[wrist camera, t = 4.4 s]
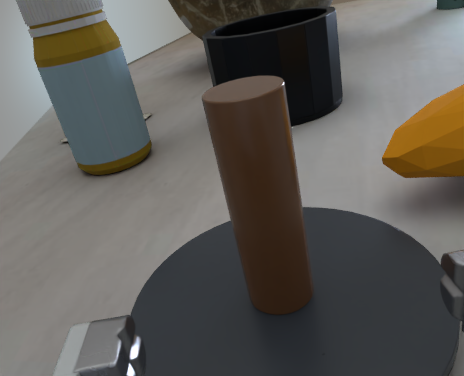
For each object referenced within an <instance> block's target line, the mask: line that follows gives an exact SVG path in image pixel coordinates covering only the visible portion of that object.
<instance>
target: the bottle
mask: <svg viewBox="0 0 464 376" xmlns="http://www.w3.org/2000/svg"><path fill="white" fill-rule="evenodd" d="M16 2H17V4H18V6H19V9H20V12H21V14H22V16H23V19H24V21H25V24H27V26H29V27H30V29H29V30H28V31H29V33H30V35H31V37H33V45H34V59H35V62H36V64H37V67H38V70H39V72H40V75H41V77H42V80H43V82H44V85H45V87H46V89H47V92H48V94H49V97H50V99H51V101H52V104H53V106H54V109H55V111H56V114H57V116H58V119H59V121H60V123H61V126H62V128H63V131H64V133H65V136H66V138H67V140H68V143H69V145H70V148H71V150H72V153H73V155H74V158H75V160H76V162H77V164H78V166H79V168H80V169H81V170H83V171H85V172H87V173H90V174H92V175H103V174H111V173H114V172H119V171H122V170H124V169H127V168H130V167H132V166H134V165H136V164H138V163H139V162H141V161H142V160H143V159H145V158H146V156H147V155H148V153H149V151H150V148H151V140H150V136H149V133H148V130H147V126H146V123H145V120H144V117H143V114H142V110H141V107H140V104H139V101H138V98H137V94H136V91H135V88H134V85H133V82H132V78H131V75H130V72H129V69H128V66H127V63H126V59H125V56H124V53H123V50H122V46H121V44H120V41H119V38H118V36H117V35H116V34H115V32H114V31H113V29H112V28H111V26H110V25H109V23H108V22H107V21H106V19H107V18H106V14H105V12H104V11H103V12H102V9H103V4H102V0H16Z"/></svg>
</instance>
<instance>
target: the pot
mask: <svg viewBox="0 0 464 376" xmlns="http://www.w3.org/2000/svg"><path fill="white" fill-rule="evenodd" d="M202 38H203V43H204V47H205V52H206V56H207V61H208V65H209V70H210V74H211V79H212V83H213V87H215V86H217V85H220V84H222V83H225V82H229V81H232V80H236V79H241V78H246V77H252V76H277V77H280V78H282V79H283V80H284V82H285V89H286V96H287V103H288V110H289V117H290V124H291V126H293V125H297V124H301V123H305V122H308V121H311V120H314V119H317V118H319V117H322V116H324V115H326V114H328V113H330V112H331V111H333V110H334V109H336V108H337V107H338V106H339V105H340V104H341V102H342V96H343V95H342V82H341V70H340V57H339V44H338V32H337V19H336V10H335V8H334V7H327V6H318V7H305V8H298V9H291V10H284V11H279V12H274V13H269V14H263V15H259V16H255V17H251V18H247V19H242V20H239V21H235V22H232V23H229V24H225V25H222V26H219V27H217V28H214V29H212V30H209V31H208V32H206V33H205V34H204V35H203V36H202Z"/></svg>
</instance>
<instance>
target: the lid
mask: <svg viewBox="0 0 464 376" xmlns="http://www.w3.org/2000/svg"><path fill="white" fill-rule="evenodd" d="M202 101H203V106H204V110H205V114H206V118H207V122H208V127H209V131H210V135H211V139H212V143H213V148H214V152H215V156H216V160H217V164H218V168H219V173H220V177H221V181H222V185H223V189H224V194H225V198H226V202H227V206H228V210H229V215H230V219H231V221H229V222H226V223H224V224H221V225H219V226H216V227H214V228H212V229H210V230H208V231H206V232H204V233H202V234H200V235H199V236H197V237H195V238H194V239H192V240H191V241H189V242H187V243H186V244H185V245H183V246H182V247H180V248H179V249H178V250H176V251H175V252H174V253H173V254H172V255H171V256H169V257H168V258H167V259H166V260H165V261H164V262H163V263H162V264H161V265H160V266H159V267H158V268H157V269H156V270H155V271H154V273H153V274H152V275H151V277H150V278H149V279H148V281H147V282H146V283H145V285H144V287H143V288H142V290H141V292H140V294H139V295H138V297H137V300H136V302H135V304H134V307H133V309H132V312H131V316H132V318H133V320H134V322H135V324H136V329H135V334H136V335H138V336H139V337H141V338H142V341H143V343H144V347H145V351H146V372H145V375H144V376H448V375H449V373H450V371H451V369H452V366H453V362H454V359H455V356H456V352H457V349H458V339H459V328H460V320H458V319H456V318H454V317H452V316H451V314H450V313H449V311H448V310H447V308H446V306H445V304H444V302H443V299H442V295H441V292H440V280H441V278H442V277H443V276H444V275H445V273H446V272H445V271H444V270H443V269H442V267H441V265H440V264H439V262H438V261H437V260H436V258H435V257H434V256H433V255H432V254H431V253H430V252H429V251H428V250H427V249H426V248H425V247H424V246H423V245H421V244H420V243H419V242H417V241H416V240H415V239H413V238H412V237H411V236H409V235H408V234H406V233H404V232H403V231H401V230H399V229H397V228H396V227H393V226H391V225H389V224H387V223H385V222H383V221H380V220H377V219H374V218H371V217H369V216H365V215H361V214H357V213H354V212H349V211H343V210H337V209H328V208H309V207H302V202H301V195H300V188H299V181H298V173H297V166H296V159H295V152H294V145H293V138H292V131H291V124H290V117H289V110H288V103H287V96H286V89H285V82H284V80H283V79H282V78H280V77H277V76H252V77H246V78H241V79H236V80H232V81H229V82H225V83H222V84H220V85H217V86H215V87H213V88H211V89H209V90H208V91H206V92H205V93H204V94H203V96H202Z"/></svg>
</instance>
